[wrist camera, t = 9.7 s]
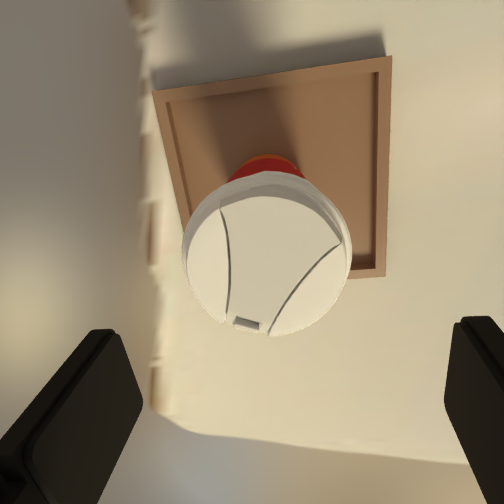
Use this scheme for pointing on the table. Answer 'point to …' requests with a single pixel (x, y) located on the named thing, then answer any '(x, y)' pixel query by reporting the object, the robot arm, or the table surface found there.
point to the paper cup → (267, 249)
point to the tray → (291, 141)
